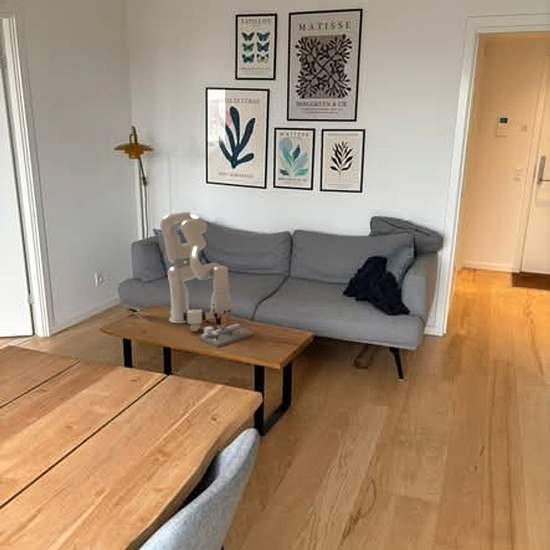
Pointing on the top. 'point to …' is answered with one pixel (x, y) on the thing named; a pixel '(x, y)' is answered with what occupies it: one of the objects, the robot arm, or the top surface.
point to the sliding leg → (223, 322)
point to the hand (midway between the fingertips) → (221, 323)
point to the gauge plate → (224, 335)
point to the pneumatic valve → (194, 318)
